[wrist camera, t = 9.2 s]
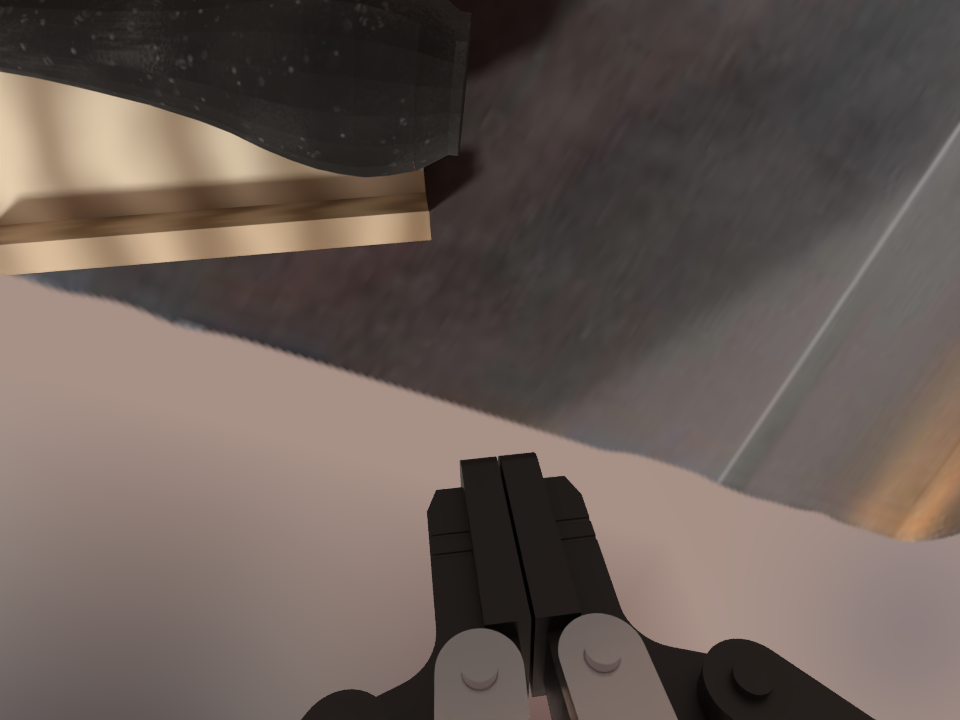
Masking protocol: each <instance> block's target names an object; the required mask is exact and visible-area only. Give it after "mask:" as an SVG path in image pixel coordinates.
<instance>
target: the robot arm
mask: <svg viewBox="0 0 960 720" xmlns="http://www.w3.org/2000/svg"><path fill="white" fill-rule="evenodd" d="M460 477H461V487H460V488H452V489H442V490H436V492H435V494H434V497H433V499H432V501H431V504H430V506H429V509H428V511H427V518H428V531H429V542H430V543H429V544H430V556H431V567H432V568H431V569H432V582H433V595H434V608H435V620H436V641H435V647H434V649H433V652H432V655H431V656H430V658H429V660H428V662H427V663H426V664H425V666H424V667H423V668H422V669H421V671H419V673H417V675H415V676H414V677H412V678H411V679H410V680H408V681H406V682H405V683H403V684H401V685H399V686H397V687H395V688H393V689H391V690H389V691H387V692H385V693H383V694H381V695H379V696H377V697H375V696H374V695H372V694H370V693H368V692H364V691H361V690H354V689H351V690H342V691H338V692H335V693H332V694H330V695H328V696H326V697H324V698H323V699H321V700H320V701H318V702H317V703H316V704H315V705H314V706H312V708H311V709H310V710H309V711H308V712H307V713H306V715H305V716H304V717H303V718H302V720H530V713H529V704H528V693H529V684H530V689H531V694H532V697H536V696H544V695H546V696H547V700H548V705H549V710H550V715H551V719H552V720H875V719H873V718H872V717H870V716H869V715H867V714H866V713H864V712H863V711H861V710H860V709H858V708H857V707H855V706H854V705H852V704H851V703H849V702H848V701H846V700H845V699H843V698H842V697H840V696H839V695H837V694H836V693H835V692H833V691H831V690H830V689H829V688H827V687H826V686H824V685H823V684H821V683H820V682H818V681H817V680H815V679H814V678H812V677H811V676H809V675H808V674H806V673H805V672H803V671H802V670H800V669H799V668H797V667H796V666H794V665H793V664H791V663H790V662H788V661H787V660H785V659H784V658H782V657H780V656H779V655H778V654H776V653H775V652H773V651H772V650H770V649H769V648H767V647H765V646H763V645H761V644H759V643H756V642H753V641H750V640H745V639H729V640H725V641H722V642H720V643H718V644H716V645H715V646H713V647H712V648H711V649H710V651H709V652H708V653H707V654H706V653H701V652H695V651H690V650H685V649H679V648H674V647H669V646H666V645H662V644H659V643H657V642H654V641H652V640H650V639H649V638H647V637H645V636H644V635H642V634H641V633H640V632H638V631H637V630H636V629H635V628H634V627H633V626H632V625H631V624H630V622H629V621H628V620H627V618H626V617H625V615H624V614H623V612H622V610H621V607H620V605H619V602H618V599H617V596H616V593H615V591H614V587H613V584H612V581H611V579H610V576H609V573H608V570H607V567H606V564H605V561H604V558H603V555H602V553H601V550H600V547H599V544H598V541H597V540H596V537H595V532H594V530H593V526H592V524H591V521H590V520H589V515H588V512H587V509H586V506H585V503H584V500H583V497H582V495H581V493H580V492H579V491H578V490H577V489H576V488H575V487H574V486H573V485H572V484H571V483H570V482H569V480H568V479H567V478H566V477H565V476H559V477H549V478H543V476H542V472H541V469H540V466H539V462H538V459H537V456H536V454H535V453H534V452H532V453H524V454H514V455H504V456H498V461H497V458H496V457H488V458H478V459H468V460H460Z"/></svg>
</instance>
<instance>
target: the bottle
mask: <svg viewBox="0 0 960 720" xmlns="http://www.w3.org/2000/svg"><path fill="white" fill-rule="evenodd" d="M471 16H472V13H471V12H463V11H460V10H459V9H458V8H457V7H455V6H454V5H453V4H452V3H451V2H450V1H449V0H0V72H4V73H10V74H16V75H21V76H27V77H33V78H38V79H43V80H47V81H51V82H56V83H60V84H65V85H69V86H74V87H78V88H82V89H86V90H91V91H95V92H99V93H103V94H107V95H111V96H115V97H119V98H123V99H127V100H131V101H135V102H139V103H143V104H147V105H150V106H153V107H157V108H160V109H163V110H166V111H169V112H172V113H176V114H179V115H182V116H185V117H188V118H192V119H195V120H198V121H201V122H203V123H206V124H209V125H211V126H214V127H216V128H219V129H222V130H224V131H227V132H229V133H232V134H234V135H236V136H238V137H240V138H242V139H244V140H246V141H248V142H250V143H252V144H254V145H256V146H258V147H260V148H262V149H264V150H267V151H269V152H272V153H274V154H277V155H279V156H281V157H284V158H286V159H289V160H291V161H294V162H297V163H300V164H303V165H306V166H309V167H312V168H315V169H318V170H323V171H328V172H332V173H337V174H342V175H349V176H357V177H379V176H391V175H396V174H402V173H408V172H413V171H418V170H420V169H422V168H424V167H426V166H428V165H429V164H431V163H433V162H435V161H437V160H439V159H441V158H443V157H445V156H447V155H454V156H458V155H459V148H460V140H461V131H462V121H463V111H464V101H465V91H466V80H467V69H468V57H469V45H470V32H471Z"/></svg>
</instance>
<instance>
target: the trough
mask: <svg viewBox="0 0 960 720" xmlns="http://www.w3.org/2000/svg"><path fill="white" fill-rule="evenodd" d="M423 240H431V232H430V220H429V209H428V204H427V198H426V192H425V180H424V168H422V169H420V170H418V171H413V172H408V173H402V174H396V175H391V176H379V177H357V176H349V175H342V174H337V173H332V172H328V171H323V170H318V169H315V168H312V167H309V166H306V165H303V164H300V163H297V162H294V161H291V160H289V159H286V158H284V157H281V156H279V155H277V154H274V153H272V152H269V151H267V150H264V149H262V148H260V147H258V146H256V145H254V144H252V143H250V142H248V141H246V140H244V139H242V138H240V137H238V136H236V135H234V134H232V133H229V132H227V131H224V130H222V129H219V128H216V127H214V126H211V125H209V124H206V123H203V122H201V121H198V120H195V119H192V118H188V117H185V116H182V115H179V114H176V113H172V112H169V111H166V110H163V109H160V108H157V107H153V106H150V105H147V104H143V103H139V102H135V101H131V100H127V99H123V98H119V97H115V96H111V95H107V94H103V93H99V92H95V91H91V90H86V89H82V88H78V87H74V86H69V85H65V84H60V83H56V82H51V81H47V80H43V79H38V78H33V77H27V76H21V75H16V74H10V73H4V72H0V276H2V275H14V274H27V273H39V272H51V271H63V270H75V269H87V268H99V267H111V266H123V265H135V264H147V263H159V262H171V261H183V260H195V259H207V258H219V257H231V256H243V255H255V254H267V253H279V252H291V251H303V250H315V249H327V248H339V247H351V246H363V245H375V244H387V243H399V242H411V241H423Z"/></svg>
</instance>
